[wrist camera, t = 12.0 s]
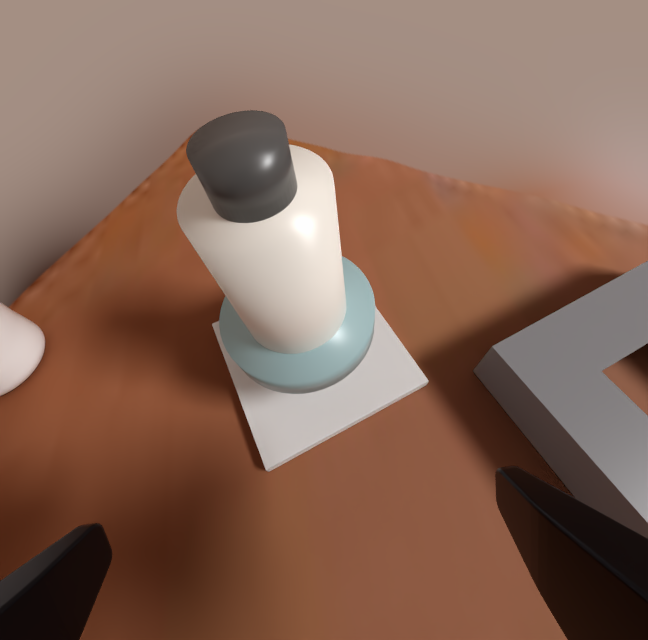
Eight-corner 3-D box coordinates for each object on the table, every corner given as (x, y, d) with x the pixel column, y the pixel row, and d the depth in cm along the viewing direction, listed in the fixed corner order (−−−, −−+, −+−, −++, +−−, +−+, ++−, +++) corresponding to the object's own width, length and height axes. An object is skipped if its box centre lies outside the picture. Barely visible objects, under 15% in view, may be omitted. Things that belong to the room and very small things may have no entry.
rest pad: (269, 471, 16) (266, 470, 15) (215, 328, 20) (211, 324, 20) (426, 384, 17) (428, 380, 17) (344, 268, 21) (343, 262, 21)
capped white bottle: (328, 440, 16) (252, 303, 5) (226, 370, 18) (37, 184, 8) (396, 331, 18) (433, 93, 8) (297, 282, 21) (227, 53, 10)
